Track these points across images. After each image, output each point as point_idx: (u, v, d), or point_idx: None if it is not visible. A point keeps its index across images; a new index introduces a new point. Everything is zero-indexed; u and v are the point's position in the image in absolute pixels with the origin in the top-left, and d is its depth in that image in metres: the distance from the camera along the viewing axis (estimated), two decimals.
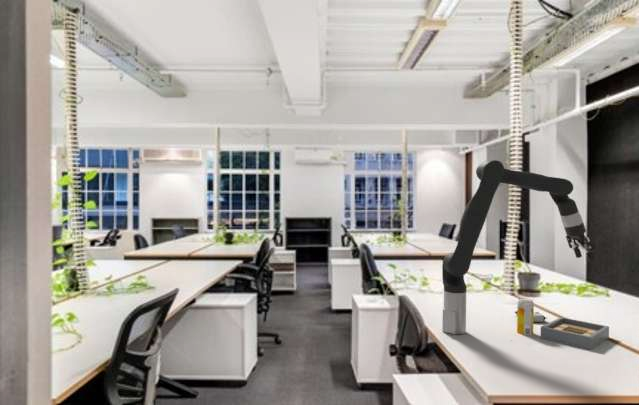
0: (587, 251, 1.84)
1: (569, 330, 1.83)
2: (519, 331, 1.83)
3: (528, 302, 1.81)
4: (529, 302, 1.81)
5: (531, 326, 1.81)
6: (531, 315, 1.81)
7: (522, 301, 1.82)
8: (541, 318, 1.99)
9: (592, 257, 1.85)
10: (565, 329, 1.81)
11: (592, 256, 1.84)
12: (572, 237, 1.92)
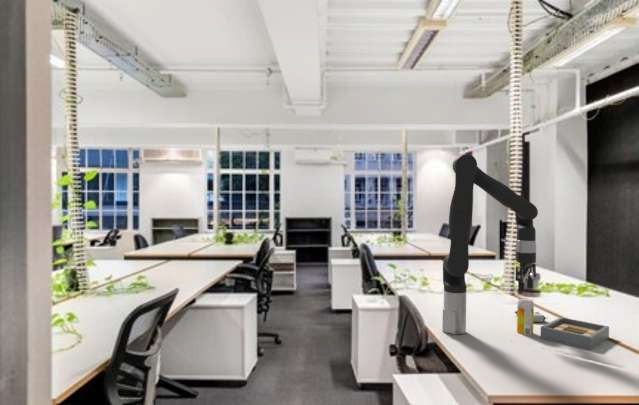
0: None
1: (569, 330, 1.83)
2: (519, 331, 1.83)
3: (528, 302, 1.81)
4: (529, 302, 1.81)
5: (531, 326, 1.81)
6: (531, 315, 1.81)
7: (522, 301, 1.82)
8: (541, 318, 1.99)
9: (520, 288, 1.80)
10: (565, 329, 1.81)
11: (520, 287, 1.80)
12: None
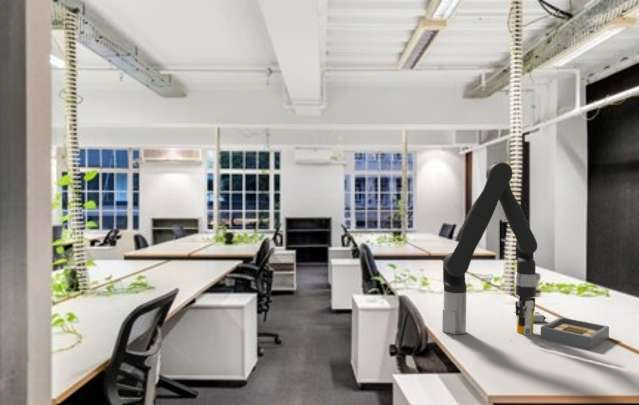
0: None
1: (569, 330, 1.83)
2: (519, 331, 1.83)
3: (528, 302, 1.81)
4: (529, 302, 1.81)
5: (531, 326, 1.81)
6: (531, 315, 1.81)
7: None
8: (541, 318, 1.99)
9: (521, 323, 1.81)
10: (565, 329, 1.81)
11: (520, 322, 1.81)
12: None
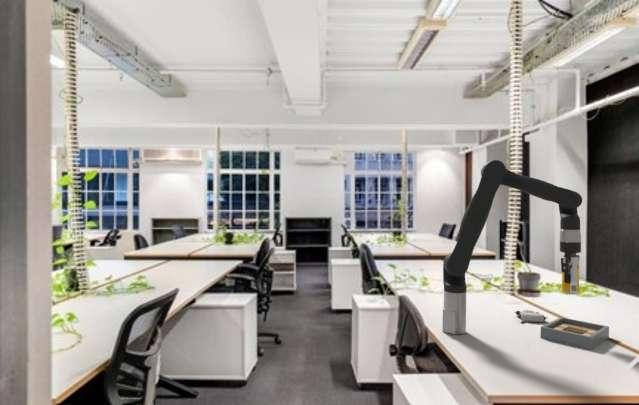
0: (563, 271, 1.76)
1: (569, 330, 1.83)
2: (565, 289, 1.77)
3: (574, 258, 1.76)
4: (575, 258, 1.76)
5: (577, 283, 1.76)
6: (577, 272, 1.76)
7: None
8: (541, 318, 1.99)
9: (566, 280, 1.76)
10: (565, 329, 1.81)
11: (566, 279, 1.75)
12: None
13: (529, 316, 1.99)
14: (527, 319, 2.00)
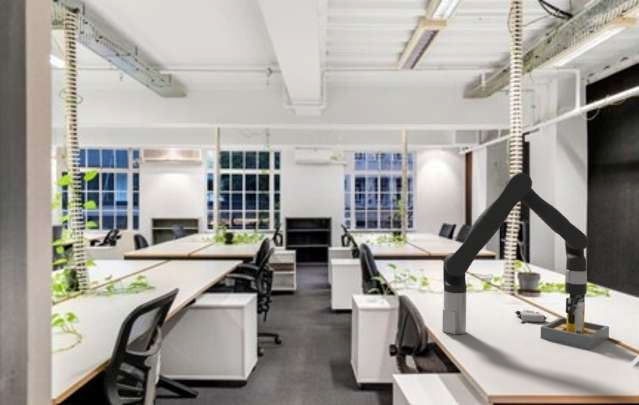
0: None
1: None
2: None
3: (579, 303, 1.75)
4: (580, 303, 1.75)
5: (582, 328, 1.75)
6: (582, 317, 1.75)
7: None
8: (542, 318, 1.99)
9: (570, 320, 1.74)
10: (565, 329, 1.81)
11: (570, 319, 1.74)
12: None
13: (529, 316, 1.99)
14: (527, 319, 2.00)
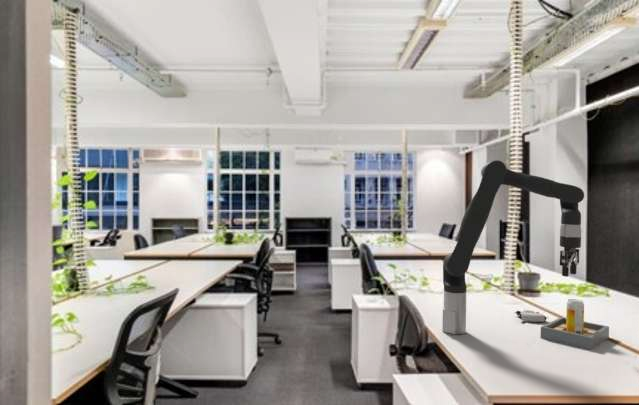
0: (561, 265, 1.77)
1: None
2: None
3: (579, 303, 1.75)
4: (580, 303, 1.75)
5: (582, 328, 1.75)
6: (582, 317, 1.75)
7: (572, 302, 1.76)
8: (542, 318, 1.99)
9: (564, 273, 1.76)
10: (565, 329, 1.81)
11: (564, 272, 1.76)
12: None
13: (530, 316, 1.99)
14: (528, 319, 2.00)
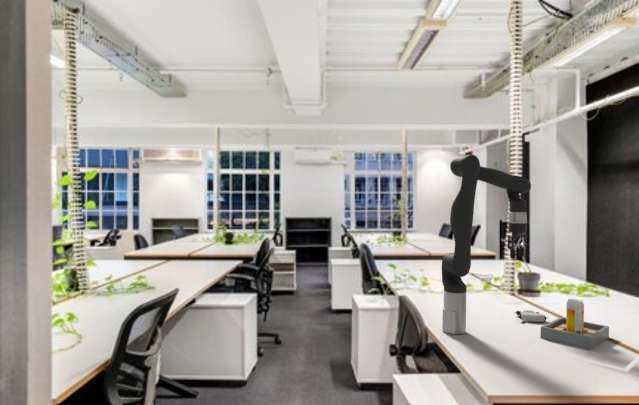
0: None
1: None
2: None
3: (579, 303, 1.75)
4: (580, 303, 1.75)
5: (582, 328, 1.75)
6: (582, 317, 1.75)
7: (572, 302, 1.76)
8: (542, 318, 1.99)
9: (512, 255, 1.97)
10: (565, 329, 1.81)
11: (512, 254, 1.97)
12: None
13: (530, 316, 1.99)
14: (528, 319, 2.00)
